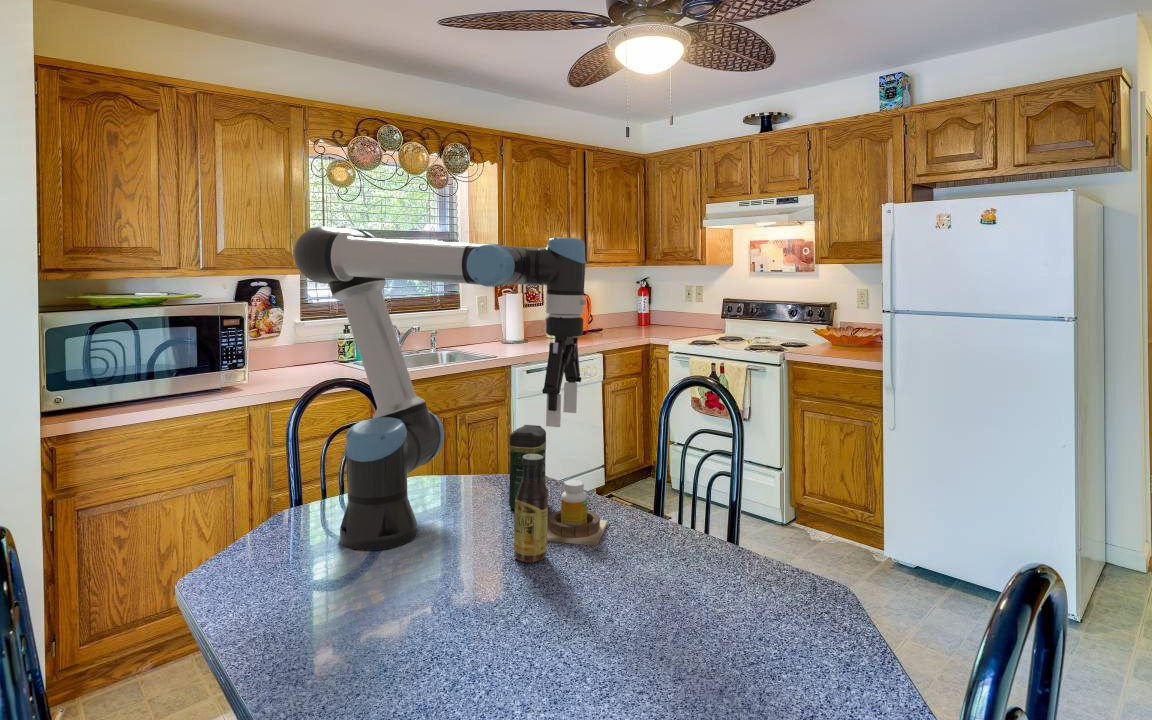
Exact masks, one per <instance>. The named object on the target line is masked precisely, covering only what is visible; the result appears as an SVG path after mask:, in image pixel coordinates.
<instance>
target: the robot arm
mask: <svg viewBox="0 0 1152 720" xmlns="http://www.w3.org/2000/svg"><path fill="white" fill-rule="evenodd" d="M293 259H294V263H295V266H296V267H297V269H298V271H299V272H300V273H301V274H302V276H304V277H305V278H307V279H309V281H312V282H314V283H317V284H318V283H319V284H328V287H329V289H330V291H331V294H332V298H333V299H335V300H337V301H339V302H341V303H342V305H343V308H344V311H345V314H346V316H347V317H346V318H347V320H348V324H349V326H350V329H351V332H352V335H353V338H354V342H355V344H356V347H357V350H358V353H359V357H360V359H361V363H362V365H363V368H364V371H365V373H366V374H365V375H366V377H367V380H368V383H369V387H370V389H371V393H372V395H373V396H372V397H373V398H374V402H375V405H376V410H375V412H374V414H373V416H372V418H371V419H364V420H362V421H359V422H357V423H354V424H353V425H351V426H350V428H348V430H347V432H346V435H345V445H344V452H345V461H346V464H345V465H346V466H345V467H346V485H347V486H346V487H347V505H346V508H345V511H344V514H343V517H342V522H341V525H340V527H339V540H340V543H341V544H342V545H343V546H344V547H346V548H349V549H352V550H358V551H359V550H360V551H381V550H388V549H392V548H396V547H399V546H402V545H405V544H407V543H409V542H411V541H413V540H414V539H415V538H416V536H417V535H418V522H417V518H416V516H415V513H414V510H413V508H412V506H411V502H410V500H409V495H408V494H409V493H408V474H409V473H411V472H412V471H414V470H416V469H417V468H419V467H421V466H425V465H427V464H428V463H430V461H432V460H433V458H435V457H436V456H437V455H438V454H439V452H441V449H442V447H443V445H444V441H445V430H444V425H443V423H442V422H441V420H440V418H439V417H438V416H437V415H436V414H434V413H432V411H429V408H428V406H427V403H426V401H425V399H424V398H422V397H419V396H418V395H417V394H416V392H415V388H414V386H413V382H412V379H411V376H410V374H409V370H408V368H407V364H406V361H405V359H404V355H403V353H402V350H401V346H400V343H399V340H398V337H397V334H396V331H395V327H394V325H393V322H392V318H391V316H390V312H389V309H388V307H387V304H386V301H385V300H386V299H385V297H384V294H383V290H384V288H385V286H386V284H387V281H386V280H387V279H389V280H404V281H405V280H407V281H422V282H438V283H453V284H469V285H478V286H483V287H488V288H489V287H491V288H492V287H493V288H496V287H499V286H511V285H512V286H514V285H523V286H525V285H526V286H527V285H533V286H535V285H537V286H546V304H545V305H546V306H545V307H546V309H545V312H546V314H547V317H546V318H545V320H546V321H545V333H546V335H548V336H551V337H552V336H554V338H555V339H554V341H553V342H552V341H551V342H549V344H548V346H549V347H548V349H549V351H548V358H547V365H546V372H545V377H544V378H545V379H544V383H543V385H544V386H543V388H542V394H546V409H545V410H546V413H545V426H546V427H550V428H552V427H553V428H560V427H561V420H562V419H561V418H562V417H561V416H562V415H561V414H562V393H560V392H561V387H562V383H563V378H565V381H564V383H563V413H571V414H576V413H577V408H578V407H577V405H578V403H577V402H578V383H581V382H582V377H581V371H580V370H581V369H580V359H579V347H578V340H579V339H578V337H581V336H582V335H583V334H584V318H583V317H581V315H583V314H584V312H585V310H584V305H587V304H588V303H587V300H586V299H584V298H585V279H586V278H585V277H586V276H585V275H586V264H587V261H586V243H585V241H584V240H583V239H581V238H573V237H551V238H549V239H548V241H547V244H546V247H545V246H544V247H531V246H530V247H529V246H528V247H527V246H526V247H525V246H514V245H513V246H512V245H502V244H501V245H500V244H499V243H498V244H496V243H468V242H467V243H466V242H447V241H431V240H429V241H428V240H427V241H425V240H409V239H391V238H389V239H386V238H377V237H376V236H374V235H373V234H371V233H370V232H368V231H364V230H361V229H358V228H341V227H330V226H315V227H312V228H308V230H305V231H304V232H303V233H302V234H301V235H299V237H298V238H297V240H296V242H295V245H294V248H293Z"/></svg>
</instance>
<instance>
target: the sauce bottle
mask: <svg viewBox="0 0 1152 720" xmlns="http://www.w3.org/2000/svg"><path fill="white" fill-rule="evenodd" d="M543 464H544V457H543V456H542V455H539V454H526V455H524V456H523V457H522V465H523V476H522V480H521V483H520V486H519V489H518V492H517V495H516V498H515V509H514V523H513V525H514V527H513V554H514V557H515V558H516V560H518V561H519V562H524V563H527V564H529V563H530V564H532V563H536V562H540V561H542V560H543V559H545V557H546V554H547V548H548V547H547V545H548V544H547V543H548V541H547V524H548V518H549V516H548V515H549V502H548V499H549V492H548V488H547V487H546V486H545V485H544V483H543V479H542V478H543V476H542V468H543Z"/></svg>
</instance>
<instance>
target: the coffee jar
mask: <svg viewBox="0 0 1152 720" xmlns="http://www.w3.org/2000/svg"><path fill="white" fill-rule="evenodd" d="M508 441H509V442H508V443H509V445H508V446H509V447H508V448H509V486H508V488H509V491H508V506H509V508H510V509H514V510H515V498H516V495H517V492H518V489H519V486H520V483H521V480H522V476H523V465H522V457H523V456H524V455H526V454H539V455H542V456H543V457H544V464H543V468H542V476H543V478H542V479H543V483H544V485H545V486H546V453H547V450H546V449H547V431H546V430H545V429H544V428H543V427H542V426H541V425H534V424H524V425H523V426H521V427H519V428H516V429H515V430H513V431H512V432H511V433H510V434H509V440H508Z"/></svg>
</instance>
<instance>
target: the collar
mask: <svg viewBox="0 0 1152 720" xmlns="http://www.w3.org/2000/svg"><path fill="white" fill-rule="evenodd" d="M608 522H609V521H608V520H607V519H606V520H605V519H601V517H600V516H599V515H598V513H596V512H594V511H589V510H587V524H583V525H566V524H562V523H561V510H558V511H555V512H552V513H551V514H550V515H549V516H548V520H547V542H556V543H564V544H565V543H566V544H574V545H583V546H584V545H586V546H597V545H598V544H599V542H600V540H601V539H602V538H601V537H602V536H603V534H604V532H605V531H606V528H607V526H608V525H609V524H608Z"/></svg>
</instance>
